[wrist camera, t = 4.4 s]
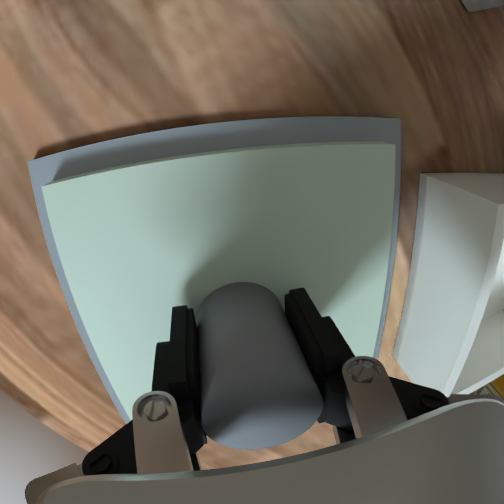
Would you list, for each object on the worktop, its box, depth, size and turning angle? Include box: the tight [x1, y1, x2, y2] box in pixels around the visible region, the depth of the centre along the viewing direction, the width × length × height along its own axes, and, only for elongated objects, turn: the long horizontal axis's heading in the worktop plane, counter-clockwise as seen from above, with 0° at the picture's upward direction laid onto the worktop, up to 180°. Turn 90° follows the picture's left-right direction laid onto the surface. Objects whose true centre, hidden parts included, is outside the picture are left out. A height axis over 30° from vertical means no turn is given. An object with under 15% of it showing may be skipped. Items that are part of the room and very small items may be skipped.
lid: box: [42, 142, 395, 450], centre depth 11 cm, size 13×13×6 cm
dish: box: [392, 173, 504, 397], centre depth 14 cm, size 11×11×5 cm
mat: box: [28, 116, 401, 424], centre depth 14 cm, size 15×15×1 cm
